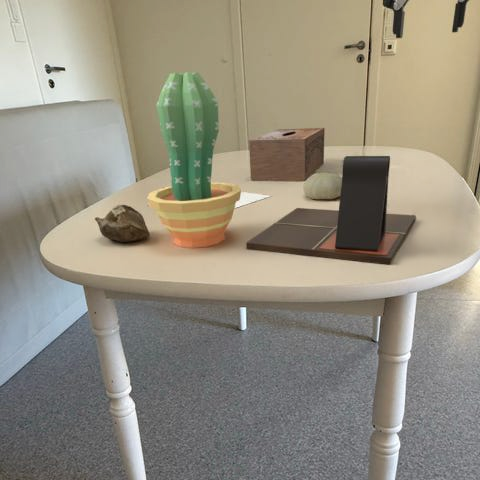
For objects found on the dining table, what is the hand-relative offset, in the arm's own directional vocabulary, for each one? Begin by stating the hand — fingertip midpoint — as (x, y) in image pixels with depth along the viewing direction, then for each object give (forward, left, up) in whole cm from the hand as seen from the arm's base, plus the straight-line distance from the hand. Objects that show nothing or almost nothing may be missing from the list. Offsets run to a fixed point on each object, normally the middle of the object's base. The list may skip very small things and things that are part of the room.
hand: (426, 35), depth 73 cm
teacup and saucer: (+42, +4, -28) cm, 51 cm away
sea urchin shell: (+18, -5, -28) cm, 34 cm away
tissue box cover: (+37, -32, -28) cm, 57 cm away
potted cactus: (+29, +29, -28) cm, 50 cm away
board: (+8, +20, -28) cm, 35 cm away
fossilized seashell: (+42, +33, -28) cm, 60 cm away
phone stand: (+2, +25, -27) cm, 37 cm away
